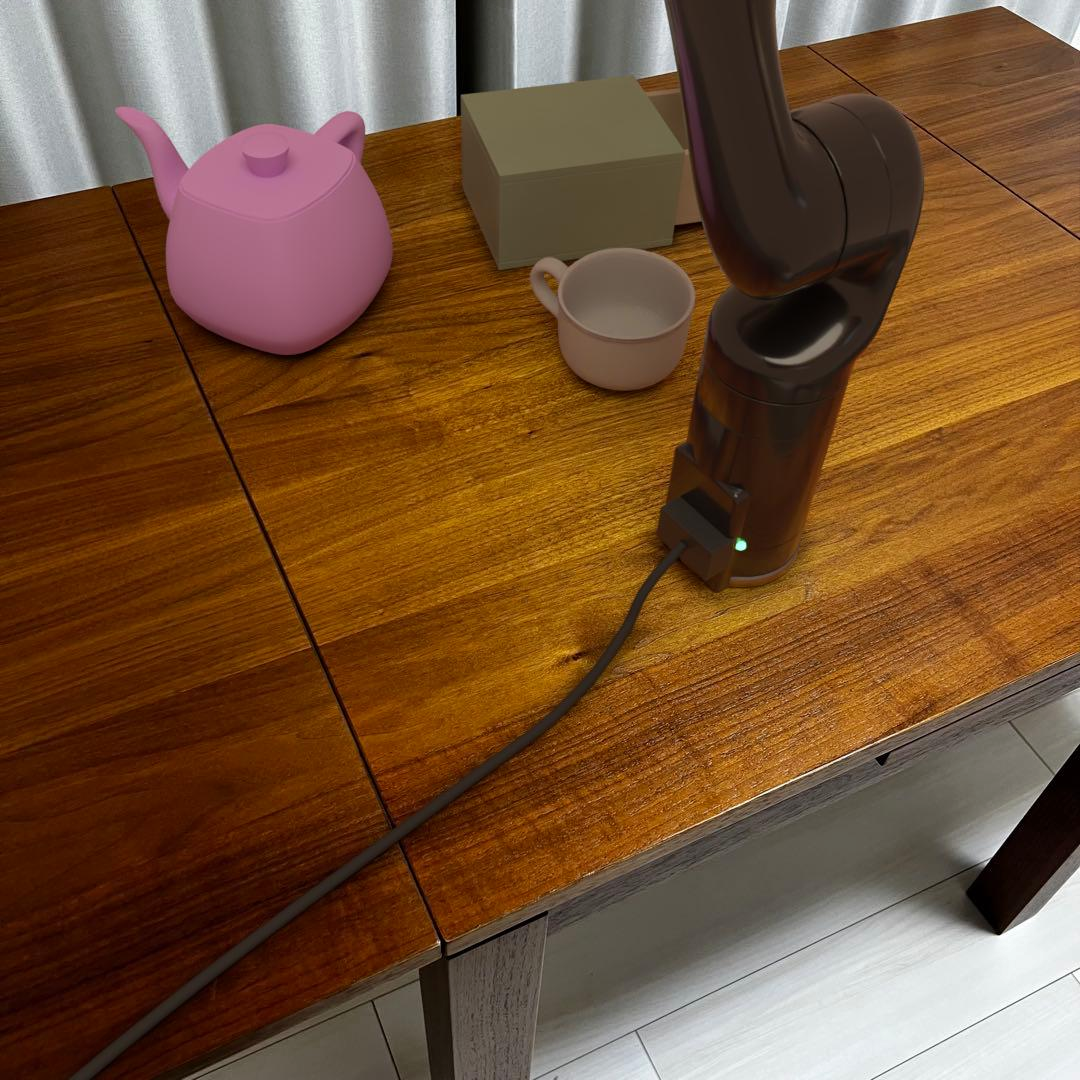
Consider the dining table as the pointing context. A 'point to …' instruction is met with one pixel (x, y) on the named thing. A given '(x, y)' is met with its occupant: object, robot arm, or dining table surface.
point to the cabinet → (569, 170)
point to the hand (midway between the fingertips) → (711, 61)
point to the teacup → (618, 315)
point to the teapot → (271, 231)
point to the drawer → (673, 117)
